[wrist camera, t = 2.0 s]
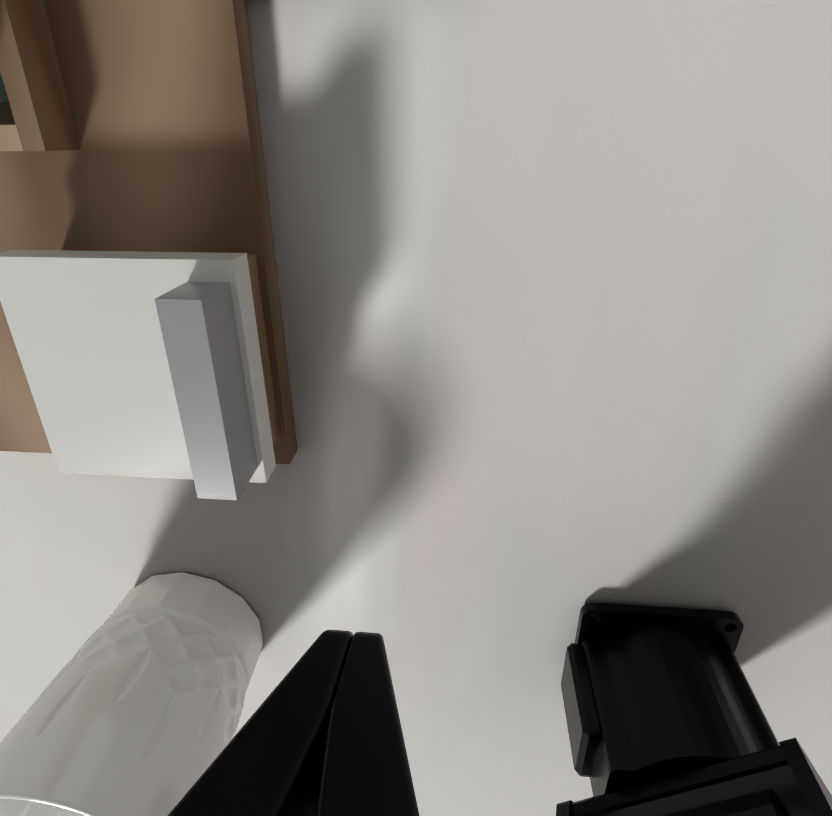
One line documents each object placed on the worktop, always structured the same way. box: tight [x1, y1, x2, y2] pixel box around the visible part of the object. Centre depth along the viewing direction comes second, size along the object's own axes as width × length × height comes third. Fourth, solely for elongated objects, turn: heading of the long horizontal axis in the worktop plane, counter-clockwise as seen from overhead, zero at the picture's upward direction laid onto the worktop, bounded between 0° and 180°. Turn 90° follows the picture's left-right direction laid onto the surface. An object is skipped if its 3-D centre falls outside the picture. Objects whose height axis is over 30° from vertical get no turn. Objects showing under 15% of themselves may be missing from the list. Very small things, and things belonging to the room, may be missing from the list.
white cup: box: [0, 572, 263, 816], centre depth 22 cm, size 8×8×10 cm
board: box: [0, 0, 297, 464], centre depth 17 cm, size 12×18×2 cm, turn 1°
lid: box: [0, 250, 276, 500], centre depth 17 cm, size 7×7×3 cm
